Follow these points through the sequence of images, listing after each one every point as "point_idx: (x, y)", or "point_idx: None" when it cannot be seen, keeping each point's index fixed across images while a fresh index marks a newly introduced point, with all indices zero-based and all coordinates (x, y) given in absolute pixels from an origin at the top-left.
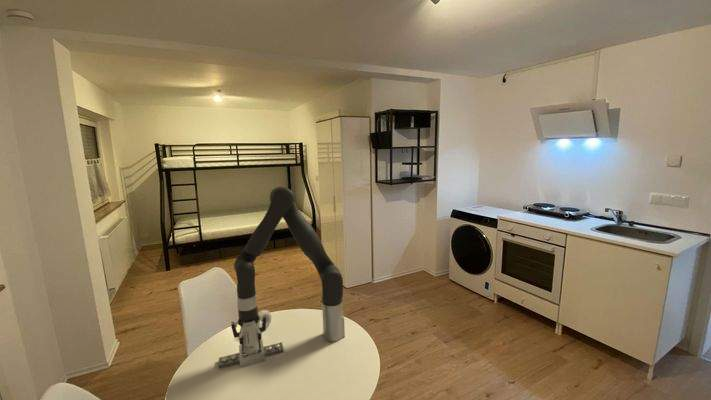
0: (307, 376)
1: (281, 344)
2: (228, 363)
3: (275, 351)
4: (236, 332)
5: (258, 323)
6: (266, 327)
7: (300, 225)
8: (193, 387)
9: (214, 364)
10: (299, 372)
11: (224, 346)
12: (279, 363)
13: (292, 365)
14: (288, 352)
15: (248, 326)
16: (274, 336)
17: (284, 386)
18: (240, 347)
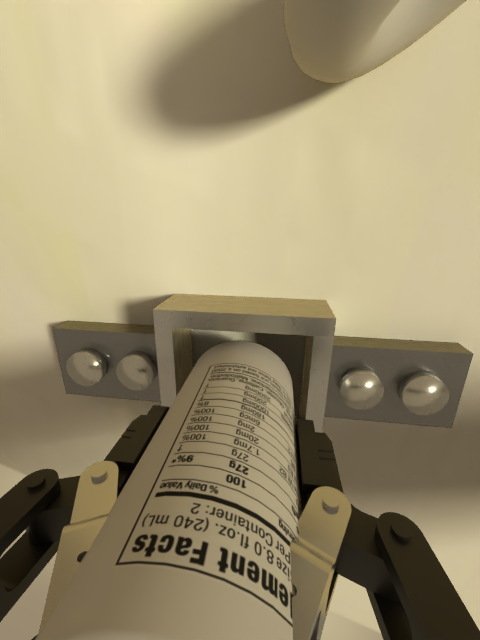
0: (470, 601)
1: (459, 376)
2: (115, 396)
3: (391, 421)
4: (39, 513)
5: (361, 44)
6: (431, 28)
7: None
8: (4, 442)
9: (49, 337)
10: (448, 569)
11: (66, 171)
12: (380, 481)
13: (438, 522)
14: (465, 427)
15: None
16: (448, 199)
17: (355, 595)
18: (164, 340)
